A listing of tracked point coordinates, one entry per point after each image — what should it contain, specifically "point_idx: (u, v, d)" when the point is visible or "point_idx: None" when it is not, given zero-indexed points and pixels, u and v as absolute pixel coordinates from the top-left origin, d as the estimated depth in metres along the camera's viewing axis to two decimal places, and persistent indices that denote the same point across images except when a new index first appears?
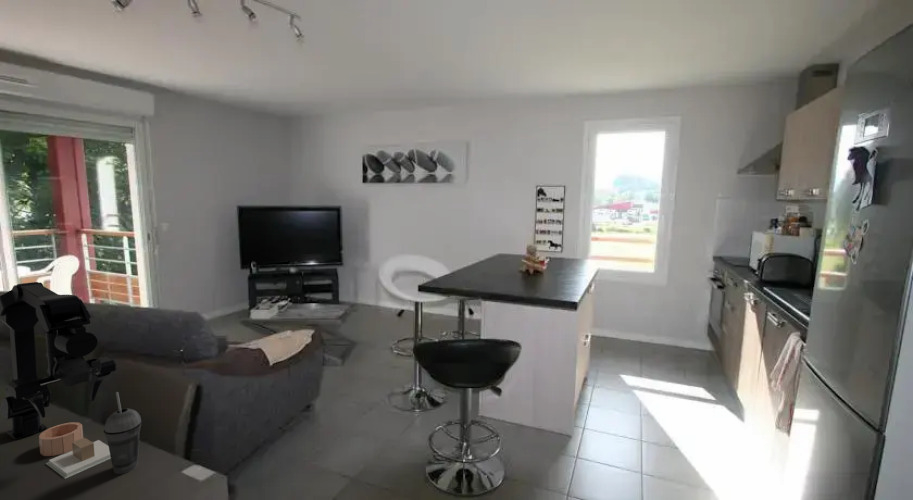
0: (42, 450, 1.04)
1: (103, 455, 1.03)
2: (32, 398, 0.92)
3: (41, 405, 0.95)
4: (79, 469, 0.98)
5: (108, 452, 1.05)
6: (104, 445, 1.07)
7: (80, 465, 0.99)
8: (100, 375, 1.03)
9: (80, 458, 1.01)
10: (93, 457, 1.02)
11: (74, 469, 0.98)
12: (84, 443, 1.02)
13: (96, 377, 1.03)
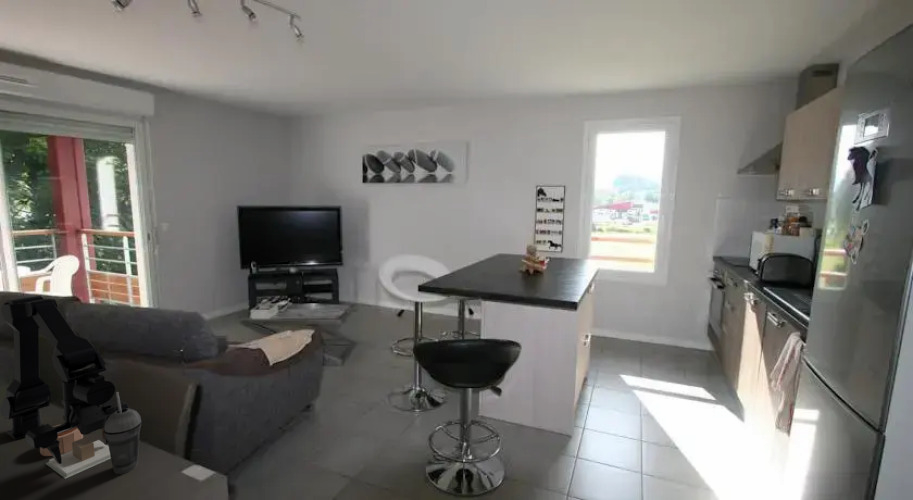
0: (42, 450, 1.04)
1: (103, 455, 1.03)
2: (49, 447, 0.95)
3: (58, 452, 0.98)
4: (79, 469, 0.98)
5: (108, 452, 1.05)
6: (104, 445, 1.07)
7: (80, 465, 0.99)
8: None
9: (80, 458, 1.01)
10: (93, 457, 1.02)
11: (74, 469, 0.98)
12: (84, 443, 1.02)
13: None
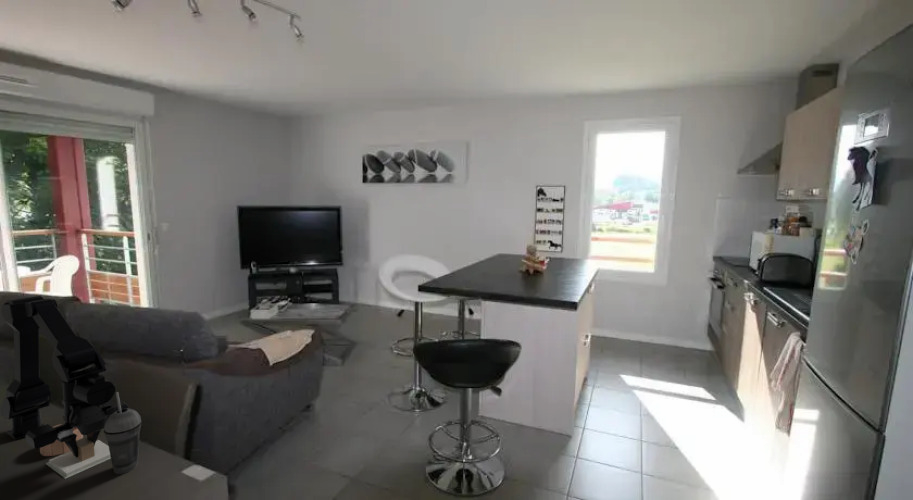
0: (42, 450, 1.04)
1: (103, 455, 1.03)
2: (67, 440, 0.98)
3: (75, 446, 1.00)
4: (79, 469, 0.98)
5: (108, 452, 1.05)
6: (104, 445, 1.07)
7: (80, 465, 0.99)
8: None
9: (80, 458, 1.01)
10: (93, 457, 1.02)
11: (74, 469, 0.98)
12: (84, 443, 1.02)
13: None
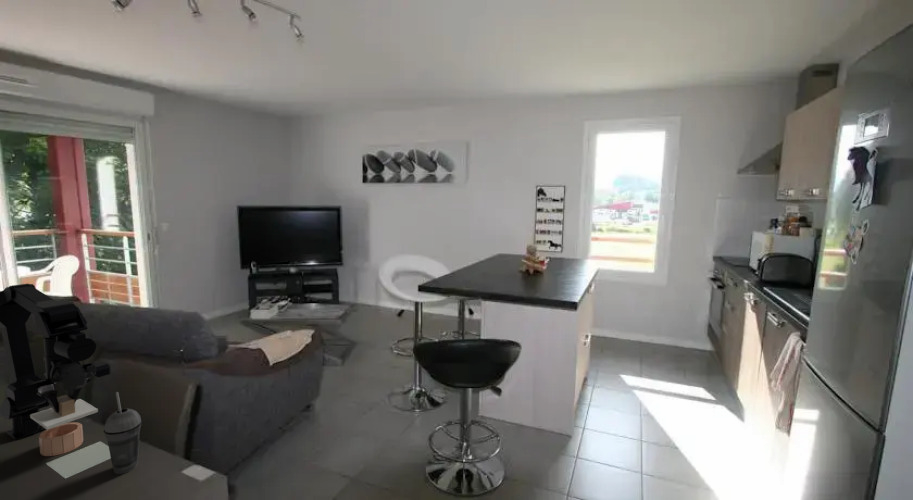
0: (42, 450, 1.04)
1: (83, 412, 1.06)
2: (48, 395, 1.00)
3: (55, 401, 1.03)
4: (59, 423, 1.01)
5: (89, 409, 1.07)
6: (85, 403, 1.10)
7: (60, 420, 1.02)
8: None
9: (61, 414, 1.03)
10: (73, 413, 1.05)
11: (54, 423, 1.00)
12: (65, 399, 1.05)
13: None
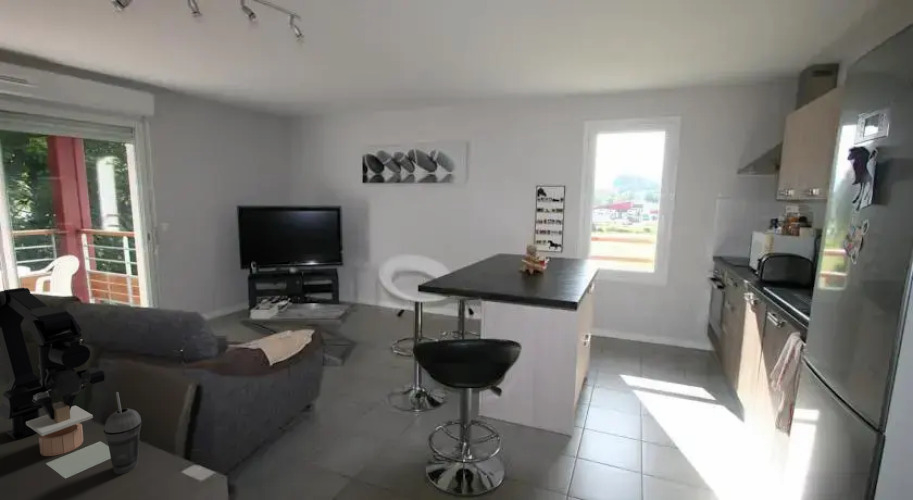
0: (42, 450, 1.04)
1: (78, 418, 1.07)
2: (43, 402, 1.02)
3: (51, 408, 1.04)
4: (54, 430, 1.02)
5: (84, 415, 1.08)
6: (80, 410, 1.11)
7: (55, 426, 1.03)
8: None
9: (56, 420, 1.05)
10: (69, 420, 1.06)
11: (49, 429, 1.02)
12: (60, 406, 1.06)
13: None
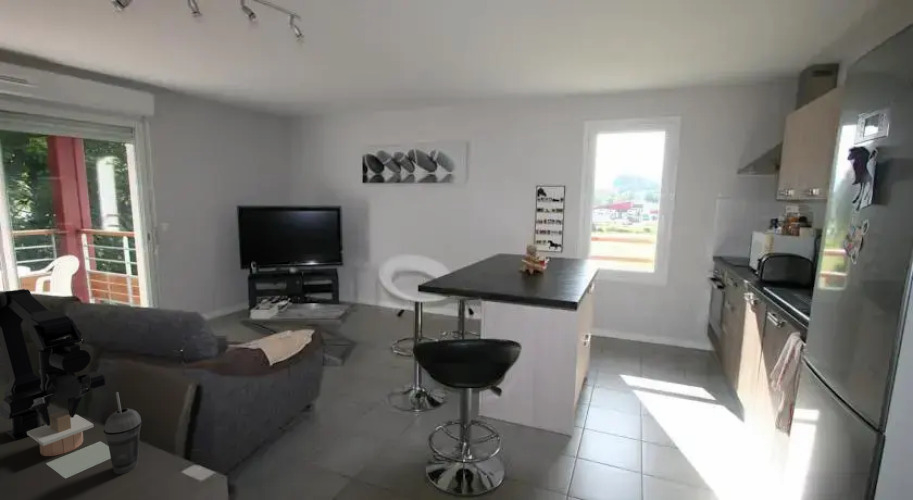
0: (42, 450, 1.04)
1: (79, 427, 1.07)
2: (38, 408, 1.01)
3: (46, 414, 1.04)
4: (55, 439, 1.03)
5: (84, 425, 1.09)
6: (81, 419, 1.12)
7: (56, 436, 1.03)
8: None
9: (57, 430, 1.05)
10: (69, 429, 1.07)
11: (50, 439, 1.02)
12: (60, 415, 1.07)
13: None
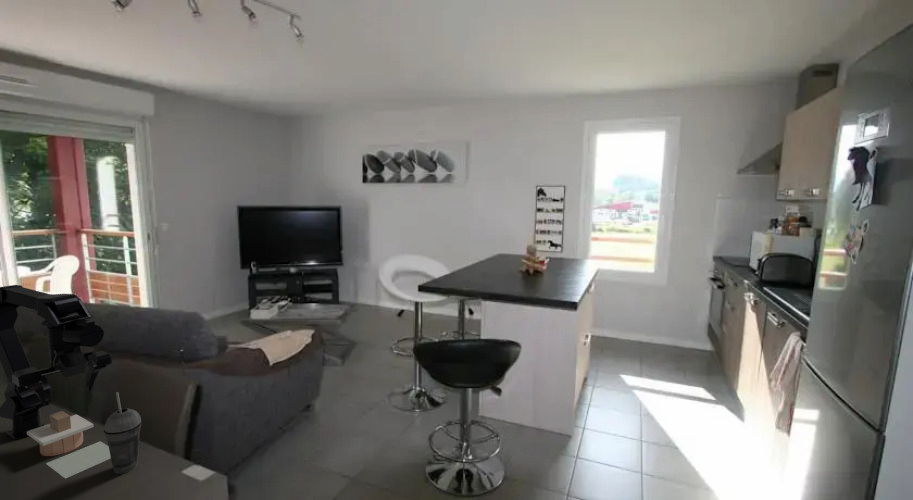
0: (42, 450, 1.04)
1: (79, 427, 1.07)
2: (34, 387, 1.02)
3: (42, 393, 1.04)
4: (55, 439, 1.03)
5: (84, 425, 1.09)
6: (81, 419, 1.12)
7: (56, 436, 1.03)
8: (96, 367, 1.13)
9: (57, 430, 1.05)
10: (69, 429, 1.07)
11: (50, 439, 1.02)
12: (60, 415, 1.07)
13: (93, 369, 1.12)
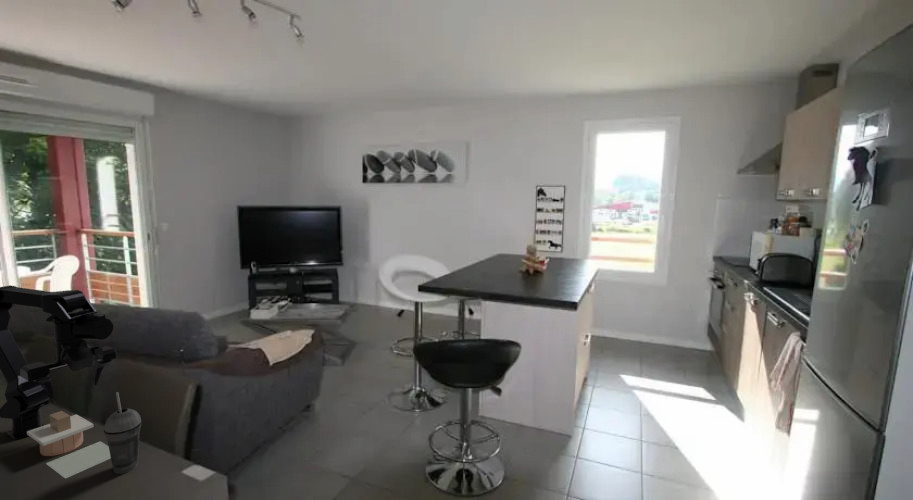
0: (42, 450, 1.04)
1: (79, 427, 1.07)
2: (42, 381, 1.04)
3: (50, 387, 1.07)
4: (55, 439, 1.03)
5: (84, 425, 1.09)
6: (81, 419, 1.12)
7: (56, 436, 1.03)
8: (102, 362, 1.15)
9: (57, 430, 1.05)
10: (69, 429, 1.07)
11: (50, 439, 1.02)
12: (60, 415, 1.07)
13: (98, 363, 1.15)
